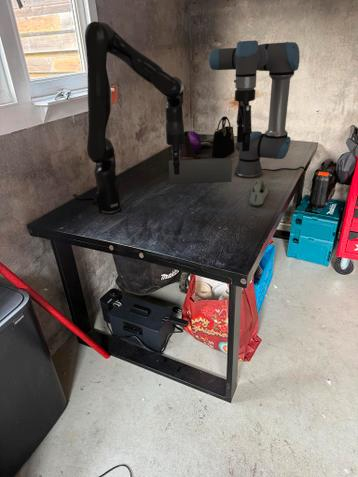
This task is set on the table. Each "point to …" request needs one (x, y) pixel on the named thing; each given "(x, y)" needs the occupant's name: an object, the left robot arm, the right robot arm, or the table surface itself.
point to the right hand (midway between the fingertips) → (242, 146)
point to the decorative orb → (194, 141)
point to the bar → (201, 171)
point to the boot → (187, 149)
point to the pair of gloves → (207, 141)
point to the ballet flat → (258, 193)
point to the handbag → (223, 140)
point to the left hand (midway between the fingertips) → (177, 171)
